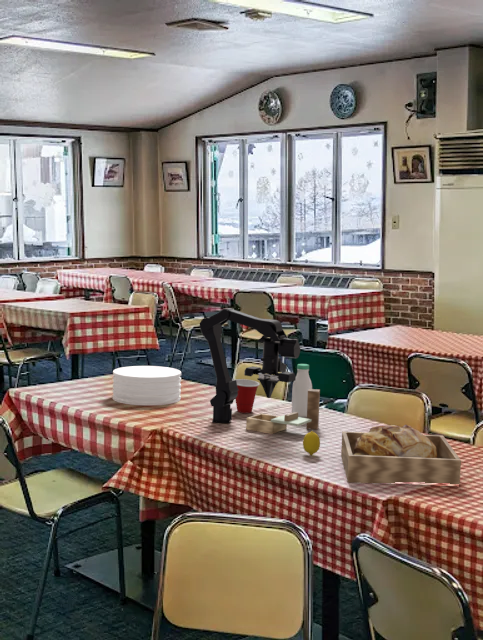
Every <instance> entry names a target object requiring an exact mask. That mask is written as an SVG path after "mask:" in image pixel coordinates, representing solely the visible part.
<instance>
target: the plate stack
mask: <svg viewBox="0 0 483 640" xmlns="http://www.w3.org/2000/svg"><path fill="white" fill-rule="evenodd" d="M112 375H113V377H112V381H113V382H112V394H113V395H112V400H113V401H115V402H117V403H119V404H124V405H125V404H126V405H132V406H163V405H171V404H176V403H178V402H180V401H181V397H182V396H181V393H182V392H181V391H182V390H181V387H182V383H181V382H182V377H181V376H182V371H181V370H179V369H177V368H173V367H167V366H158V365H133V366H132V365H131V366H121V367H118V368H115V369H113V371H112Z"/></svg>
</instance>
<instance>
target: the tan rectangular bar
mask: <svg viewBox="0 0 483 640" xmlns="http://www.w3.org/2000/svg"><path fill="white" fill-rule="evenodd" d="M320 394H321V389H317V388H316V389H314V388H312V389H309V390H308V400H307V417H306V418H307V419H312V421H311V422H308V423H306V428H305V429H306V430H318V428H319V424H320V423H319V422H320V400H321V399H320V398H321V395H320Z"/></svg>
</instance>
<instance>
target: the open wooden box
mask: <svg viewBox="0 0 483 640" xmlns="http://www.w3.org/2000/svg"><path fill="white" fill-rule="evenodd" d="M280 416H281V415H280ZM280 416H279V415H273V414H269V413H268V414H267V413H258V414H254V415H252V416H249V417H246V421H245V422H246V423H245V425H246V426H245V430H248V431H254V432H258V433H265V434H270V435H273V434H276V433H279V432H282V431H285V430H287V424H281V423H275V422H271V419H274V418H277V417H280Z"/></svg>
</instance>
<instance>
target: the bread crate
mask: <svg viewBox="0 0 483 640" xmlns="http://www.w3.org/2000/svg"><path fill="white" fill-rule="evenodd" d="M364 433H367V432H365V431H364V432H363V431H361V432H360V431H344V430H343V431H342V432H341V449H340V450H341V453H340V457H341V460H342V464H343V469H344V473H345V478H346V482H347V483H352V484H353V483H355V484H372V483H395V482H425V483H450V484H460V483H461V468H462V467H461V466H462V460H461V458H460V457H459V456H458V454H457V453H456V452H455V450H454V449H453V447H452V445H451V444H450V443H449V442H448V440H447V439H446V438H445V436H444V435H439V434H438V435H437V434H424V435H425V436H426V437H427V438H428V439H429V440H431V441H432V443H433V444H434V445H435V446H436V451H437V458H417V457H393V456H369V455H354V448H355V443H356V439H357V438H359V437H360V436H361V435H362V434H364ZM460 485H461V484H460Z"/></svg>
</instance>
